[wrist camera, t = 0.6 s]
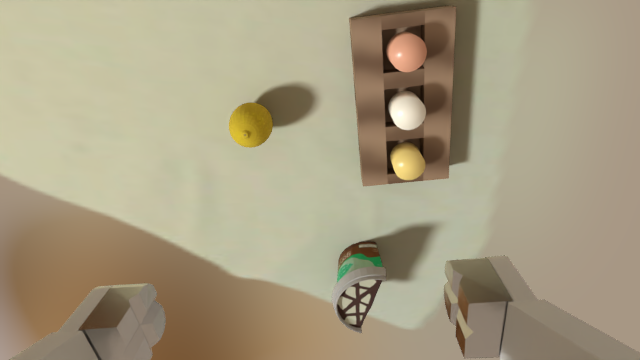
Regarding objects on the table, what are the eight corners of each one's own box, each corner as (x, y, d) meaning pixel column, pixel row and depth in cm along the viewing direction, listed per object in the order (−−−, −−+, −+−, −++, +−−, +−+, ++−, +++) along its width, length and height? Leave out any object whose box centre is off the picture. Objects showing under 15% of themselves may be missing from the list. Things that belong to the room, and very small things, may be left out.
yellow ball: (389, 143, 50) (393, 153, 47) (419, 140, 49) (425, 150, 46) (390, 170, 52) (394, 181, 48) (419, 167, 51) (425, 178, 48)
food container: (343, 226, 60) (345, 268, 51) (379, 235, 61) (387, 277, 52) (323, 281, 66) (322, 327, 57) (356, 289, 66) (360, 335, 57)
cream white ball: (387, 92, 47) (392, 99, 43) (419, 88, 46) (426, 96, 43) (388, 122, 48) (392, 131, 45) (419, 119, 48) (425, 128, 45)
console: (349, 18, 46) (350, 20, 43) (447, 5, 45) (456, 6, 42) (361, 175, 56) (363, 186, 52) (441, 167, 55) (448, 178, 52)
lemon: (278, 100, 51) (270, 118, 43) (273, 137, 53) (264, 159, 46) (238, 92, 50) (223, 109, 43) (235, 130, 53) (220, 151, 46)
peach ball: (385, 33, 43) (390, 37, 40) (419, 29, 43) (427, 32, 40) (386, 68, 45) (391, 74, 42) (419, 64, 45) (426, 70, 42)
